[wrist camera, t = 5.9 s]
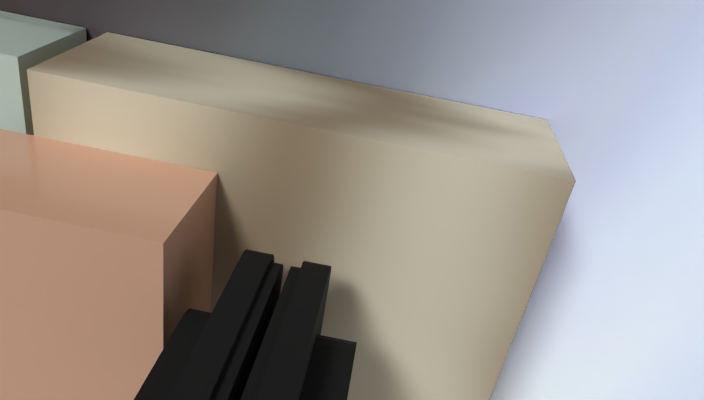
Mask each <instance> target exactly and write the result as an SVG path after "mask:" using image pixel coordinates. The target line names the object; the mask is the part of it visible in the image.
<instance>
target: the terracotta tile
mask: <svg viewBox="0 0 704 400" xmlns="http://www.w3.org/2000/svg"><path fill="white" fill-rule="evenodd" d="M216 192H217V173H216V172H211V171H206V170H201V169H196V168H191V167H186V166H181V165H176V164H172V163H167V162H162V161H157V160H152V159H147V158H142V157H137V156H132V155H127V154H122V153H117V152H113V151H108V150H103V149H98V148H93V147H88V146H83V145H78V144H73V143H68V142H63V141H58V140H53V139H48V138H43V137H38V136H34V135H29V134H24V133H19V132H14V131H9V130H4V129H0V400H134V398H135V397H136V395H137V393H138V392H139V390H140V388H141V386H142V385H143V383H144V381H145V380H146V378H147V376H148V374H149V373H150V371H151V369H152V368H153V366H154V364H155V362H156V361H157V359H158V357H159V356H160V354H161V352H162V350H163V349H164V347H165V345H166V344H167V342H168V340H169V338H170V337H171V335H172V333H173V332H174V330H175V328H176V326H177V325H178V323H179V321H180V320H181V318H182V316H183V315H184V313H185V312H186V311H187V310H188V309H190V308H191V309H195V310H200V311H205V312H211V292H212V272H213V252H214V232H215V212H216Z"/></svg>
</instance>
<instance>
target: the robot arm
mask: <svg viewBox="0 0 704 400" xmlns="http://www.w3.org/2000/svg"><path fill="white" fill-rule="evenodd" d="M282 275H283V264H279V263H274V255H273V254H268V253H263V252H258V251H253V250H248V249H246V250H244V252H243V253H242V255H241V257H240V259H239V261H238V263H237V265H236V267H235V269H234V271H233V273H232V275H231V277H230V278H229V280H228V282H227V284H226V286H225V288H224V290H223V292H222V294H221V296H220V298H219V300H218V301H217V303H216V305H215V307H214V309H213V311H212V313H210V312H205V311H200V310H195V309H191V308H190V309H188V310H187V311H186V312H185V313H184V315H183V316H182V318H181V320H180V321H179V323H178V325H177V326H176V328H175V330H174V332H173V333H172V335H171V337H170V338H169V340H168V342H167V344H166V345H165V347H164V349H163V350H162V352H161V354H160V356H159V357H158V359H157V361H156V362H155V364H154V366H153V368H152V369H151V371H150V373H149V374H148V376H147V378H146V380H145V381H144V383H143V385H142V386H141V388H140V390H139V392H138V393H137V395H136V397H135V398H134V400H347V397H348V391H349V386H350V380H351V374H352V368H353V362H354V357H355V351H356V345H357V342H353V341H348V340H343V339H338V338H333V337H328V336H323V335H321V329H322V323H323V317H324V311H325V305H326V299H327V293H328V287H329V281H330V275H331V266H328V265H323V264H318V263H313V262H308V261H303V263H302V266H301V268H299V267H294V266H291V267H290V270H289V272H288V275H287V278H286V280H285V283H284V286H283V288H282V291H281V284H282ZM280 292H281V293H280Z"/></svg>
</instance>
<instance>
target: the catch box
mask: <svg viewBox="0 0 704 400" xmlns="http://www.w3.org/2000/svg"><path fill="white" fill-rule="evenodd" d="M85 42H87V36H86V28H84V27H79V26H74V25H69V24H64V23H59V22H54V21H49V20H44V19H39V18H34V17H29V16H24V15H19V14H14V13H9V12H4V11H0V129H4V130H9V131H14V132H19V133H24V134H29V135H34V131H33V122H32V113H31V103H30V94H29V85H28V76H27V69H29V68H31V67H33V66H36V65H38V64H40V63H42V62H44V61H46V60H49V59H51V58H53V57H55V56H57V55H59V54H62V53H64V52H66V51H68V50H70V49H72V48H74V47H77V46H79V45H81V44H83V43H85Z"/></svg>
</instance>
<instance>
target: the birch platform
mask: <svg viewBox="0 0 704 400" xmlns="http://www.w3.org/2000/svg"><path fill="white" fill-rule="evenodd" d="M27 76H28V85H29V94H30V103H31V113H32V122H33V131H34V136H38V137H43V138H48V139H53V140H58V141H63V142H68V143H73V144H78V145H83V146H88V147H93V148H98V149H103V150H108V151H113V152H117V153H122V154H127V155H132V156H137V157H142V158H147V159H152V160H157V161H162V162H167V163H172V164H176V165H181V166H186V167H191V168H196V169H201V170H206V171H211V172H216V173H217V192H216V212H215V232H214V252H213V272H212V292H211V312H210V313H212V311H213V309H214V307H215V305H216V303H217V301H218V300H219V298H220V296H221V294H222V292H223V290H224V288H225V286H226V284H227V282H228V280H229V278H230V277H231V275H232V273H233V271H234V269H235V267H236V265H237V263H238V261H239V259H240V257H241V255H242V253H243V252H244V250H246V249H248V250H253V251H258V252H263V253H268V254H273V255H274V263H279V264H283V275H282V284H281V291H282V288H283V286H284V283H285V280H286V278H287V275H288V272H289V270H290V267H291V266H294V267H299V268H301V266H302V263H303V261H308V262H313V263H318V264H323V265H328V266H331V275H330V281H329V287H328V293H327V299H326V305H325V311H324V317H323V323H322V329H321V335H323V336H328V337H333V338H338V339H343V340H348V341H353V342H357V345H356V351H355V357H354V362H353V368H352V374H351V380H350V386H349V391H348V397H347V400H490V397H491V394H492V392H493V389H494V387H495V384H496V382H497V379H498V377H499V374H500V372H501V369H502V367H503V364H504V361H505V359H506V356H507V354H508V351H509V349H510V346H511V344H512V341H513V339H514V336H515V334H516V331H517V329H518V326H519V323H520V321H521V318H522V316H523V313H524V311H525V308H526V306H527V303H528V301H529V298H530V296H531V293H532V291H533V288H534V285H535V283H536V280H537V278H538V275H539V273H540V270H541V268H542V265H543V263H544V260H545V258H546V255H547V252H548V250H549V247H550V245H551V242H552V240H553V237H554V235H555V232H556V230H557V227H558V225H559V222H560V220H561V217H562V214H563V212H564V209H565V207H566V204H567V202H568V199H569V197H570V194H571V192H572V189H573V187H574V184H575V182H576V180H575V178H574V176H573V174H572V172H571V170H570V167H569V165H568V163H567V161H566V159H565V156H564V154H563V152H562V150H561V148H560V145H559V143H558V141H557V139H556V137H555V135H554V132H553V130H552V128H551V126H550V124H549V121H548V120H544V119H539V118H534V117H529V116H524V115H519V114H514V113H509V112H504V111H499V110H494V109H489V108H484V107H479V106H474V105H469V104H464V103H459V102H454V101H449V100H444V99H439V98H434V97H429V96H424V95H419V94H414V93H409V92H404V91H399V90H394V89H389V88H384V87H379V86H374V85H369V84H364V83H359V82H354V81H349V80H344V79H339V78H334V77H329V76H324V75H319V74H314V73H309V72H304V71H299V70H294V69H289V68H284V67H279V66H274V65H269V64H264V63H259V62H254V61H249V60H244V59H239V58H234V57H229V56H224V55H219V54H214V53H209V52H204V51H199V50H194V49H189V48H184V47H179V46H174V45H169V44H164V43H159V42H154V41H149V40H144V39H139V38H134V37H129V36H124V35H119V34H114V33H109V32H107V33H105V34H103V35H100V36H98V37H96V38H94V39H92V40H90V41H87V42H85V43H83V44H81V45H79V46H77V47H74V48H72V49H70V50H68V51H66V52H64V53H62V54H59V55H57V56H55V57H53V58H51V59H49V60H46V61H44V62H42V63H40V64H38V65H36V66H33V67H31V68H29V69H27ZM280 293H281V292H280Z"/></svg>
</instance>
